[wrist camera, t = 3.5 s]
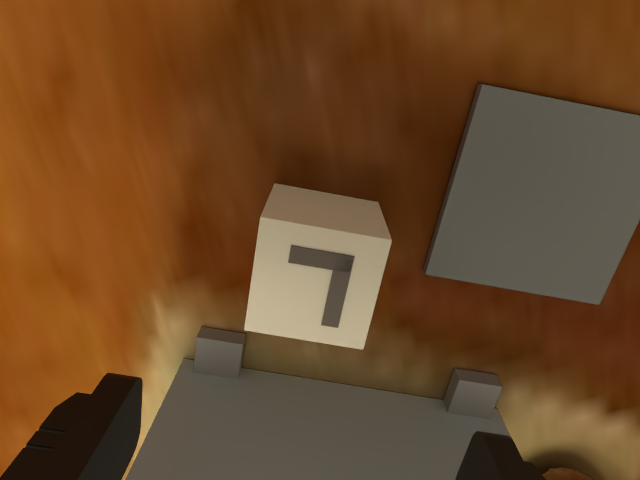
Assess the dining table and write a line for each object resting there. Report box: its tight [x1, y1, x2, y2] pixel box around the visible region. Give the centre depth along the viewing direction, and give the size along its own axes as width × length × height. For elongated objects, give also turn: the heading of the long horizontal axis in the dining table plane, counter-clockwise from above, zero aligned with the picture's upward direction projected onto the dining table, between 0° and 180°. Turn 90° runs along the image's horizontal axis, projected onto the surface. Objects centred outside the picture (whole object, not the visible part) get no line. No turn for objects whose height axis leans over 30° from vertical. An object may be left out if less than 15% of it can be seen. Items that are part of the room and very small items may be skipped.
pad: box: [423, 84, 640, 305], centre depth 21 cm, size 9×9×1 cm
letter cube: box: [244, 183, 392, 350], centre depth 20 cm, size 5×5×5 cm
